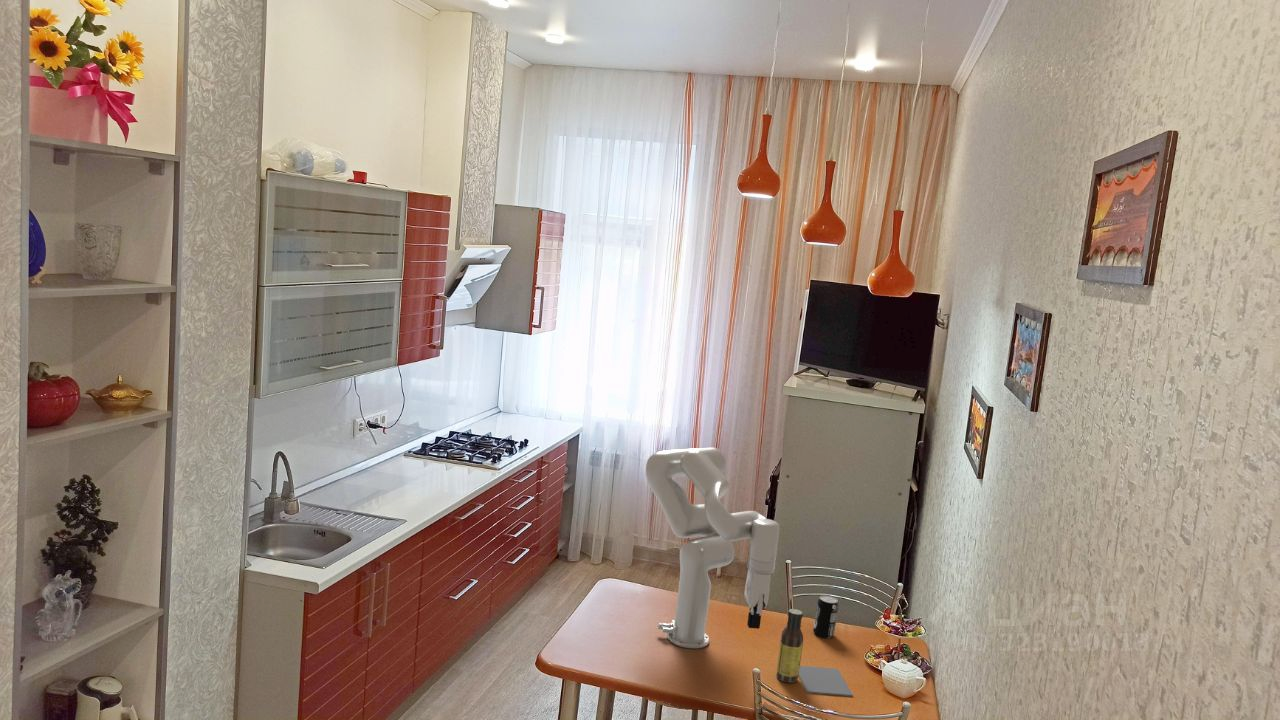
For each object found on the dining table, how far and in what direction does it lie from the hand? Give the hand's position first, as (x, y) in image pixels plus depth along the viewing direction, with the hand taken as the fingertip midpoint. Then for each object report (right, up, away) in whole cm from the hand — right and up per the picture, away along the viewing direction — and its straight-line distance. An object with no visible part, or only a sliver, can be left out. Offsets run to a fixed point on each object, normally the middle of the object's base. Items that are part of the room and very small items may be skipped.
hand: (753, 626), depth 257 cm
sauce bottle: (+10, -16, +4) cm, 19 cm away
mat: (+20, -17, +4) cm, 27 cm away
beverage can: (+27, -13, +36) cm, 47 cm away
